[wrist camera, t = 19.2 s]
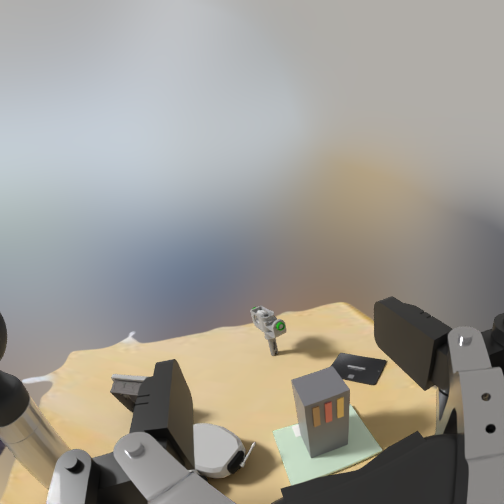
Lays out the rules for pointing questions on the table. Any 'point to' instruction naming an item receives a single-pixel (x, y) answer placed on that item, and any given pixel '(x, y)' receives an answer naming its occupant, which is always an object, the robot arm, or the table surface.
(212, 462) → the robot toy
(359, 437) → the board
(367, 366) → the solid state drive
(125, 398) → the electrical switch
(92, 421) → the table surface
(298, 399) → the plug block
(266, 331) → the mechanical component
